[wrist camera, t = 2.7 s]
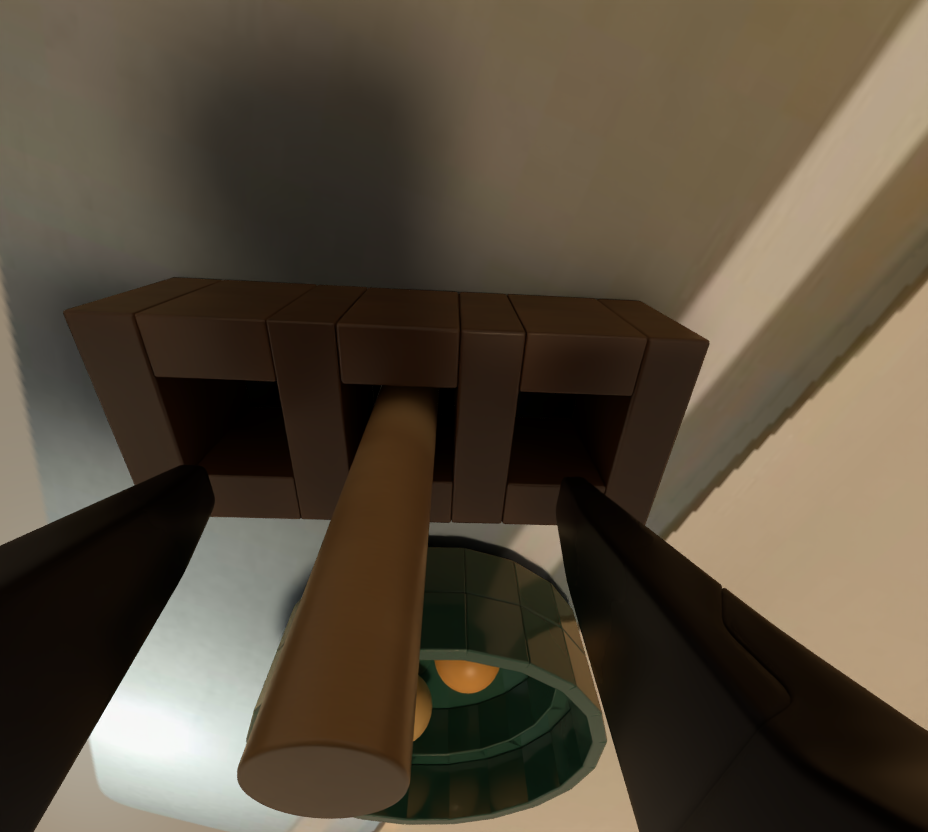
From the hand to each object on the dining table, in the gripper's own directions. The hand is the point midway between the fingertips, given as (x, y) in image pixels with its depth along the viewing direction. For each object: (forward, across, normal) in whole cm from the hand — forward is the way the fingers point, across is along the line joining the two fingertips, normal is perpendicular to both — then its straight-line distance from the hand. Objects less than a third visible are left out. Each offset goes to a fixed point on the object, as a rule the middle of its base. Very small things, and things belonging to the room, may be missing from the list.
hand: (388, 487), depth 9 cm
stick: (+6, 0, 0) cm, 6 cm away
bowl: (+6, -1, +14) cm, 16 cm away
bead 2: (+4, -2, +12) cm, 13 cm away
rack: (+6, 0, 0) cm, 6 cm away
